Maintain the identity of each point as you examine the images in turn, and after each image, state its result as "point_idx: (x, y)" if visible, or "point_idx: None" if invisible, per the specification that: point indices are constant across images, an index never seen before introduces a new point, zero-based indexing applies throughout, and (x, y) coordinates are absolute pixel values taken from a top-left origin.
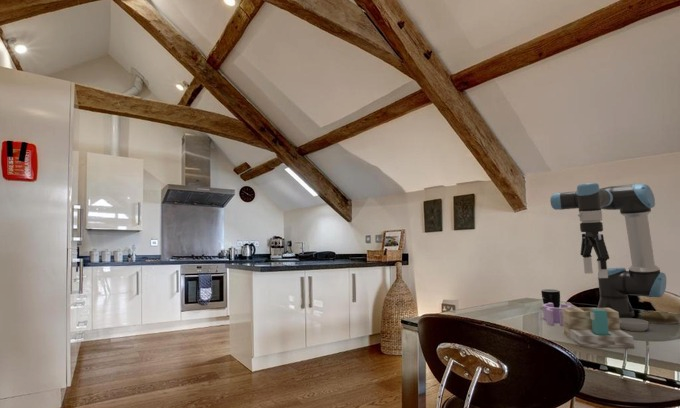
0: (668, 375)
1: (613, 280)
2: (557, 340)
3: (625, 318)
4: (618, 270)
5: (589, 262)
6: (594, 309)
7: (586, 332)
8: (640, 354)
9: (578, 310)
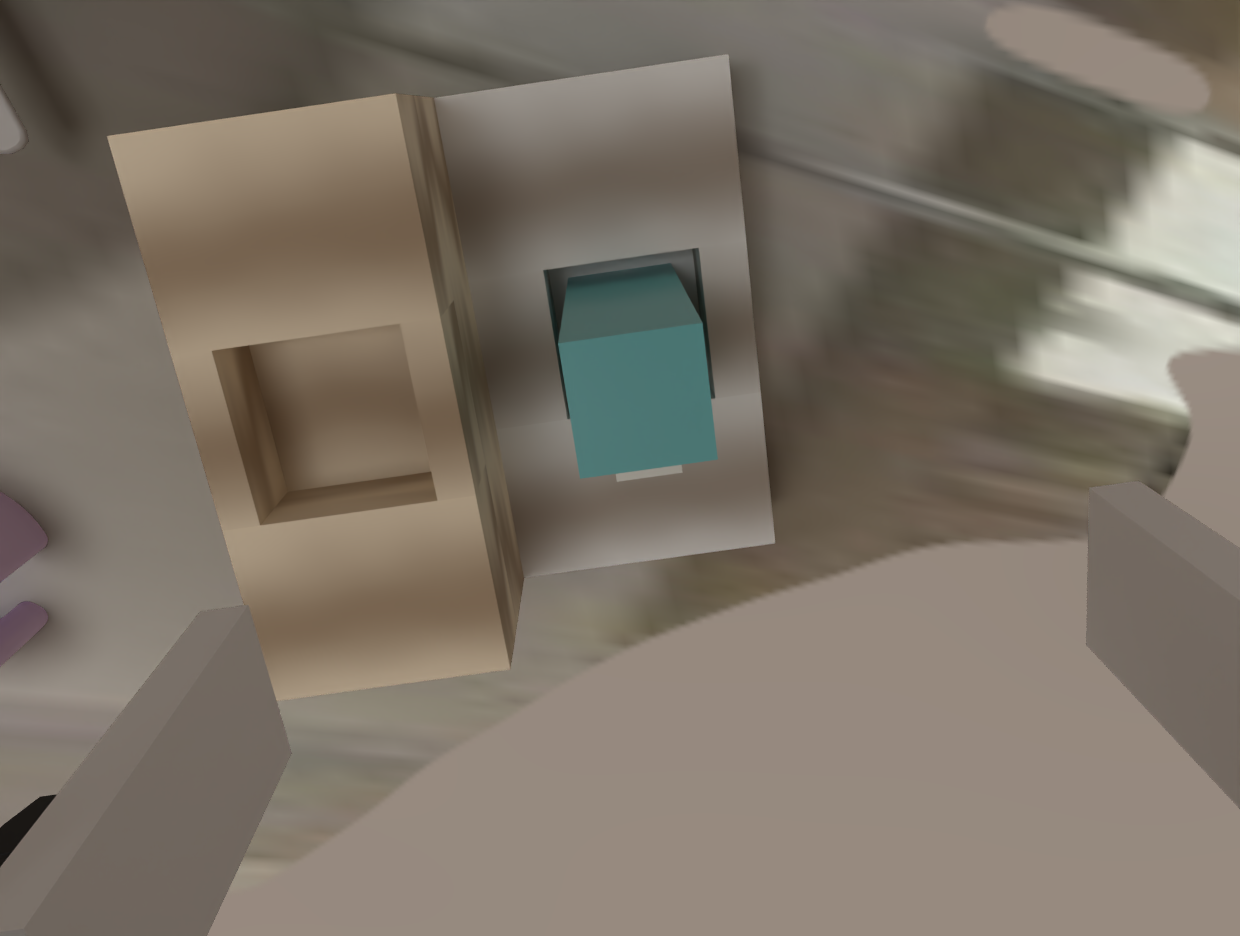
0: None
1: None
2: (605, 645)
3: None
4: None
5: (140, 850)
6: (626, 445)
7: None
8: (910, 73)
9: (410, 556)
